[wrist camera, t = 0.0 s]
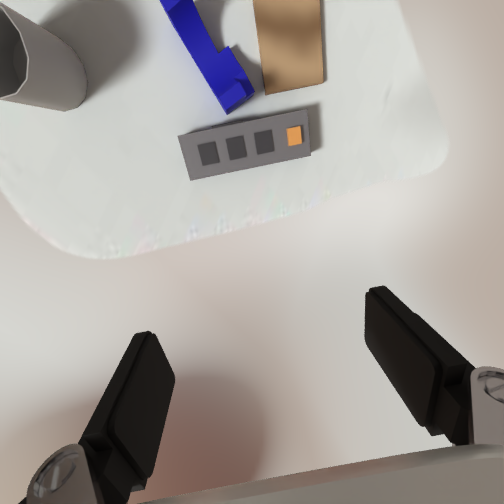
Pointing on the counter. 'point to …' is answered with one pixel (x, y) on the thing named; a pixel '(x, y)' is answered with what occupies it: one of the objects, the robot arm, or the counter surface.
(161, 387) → the robot arm
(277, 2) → the wooden board
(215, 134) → the power strip
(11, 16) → the cup
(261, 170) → the counter surface
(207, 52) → the cable clip
